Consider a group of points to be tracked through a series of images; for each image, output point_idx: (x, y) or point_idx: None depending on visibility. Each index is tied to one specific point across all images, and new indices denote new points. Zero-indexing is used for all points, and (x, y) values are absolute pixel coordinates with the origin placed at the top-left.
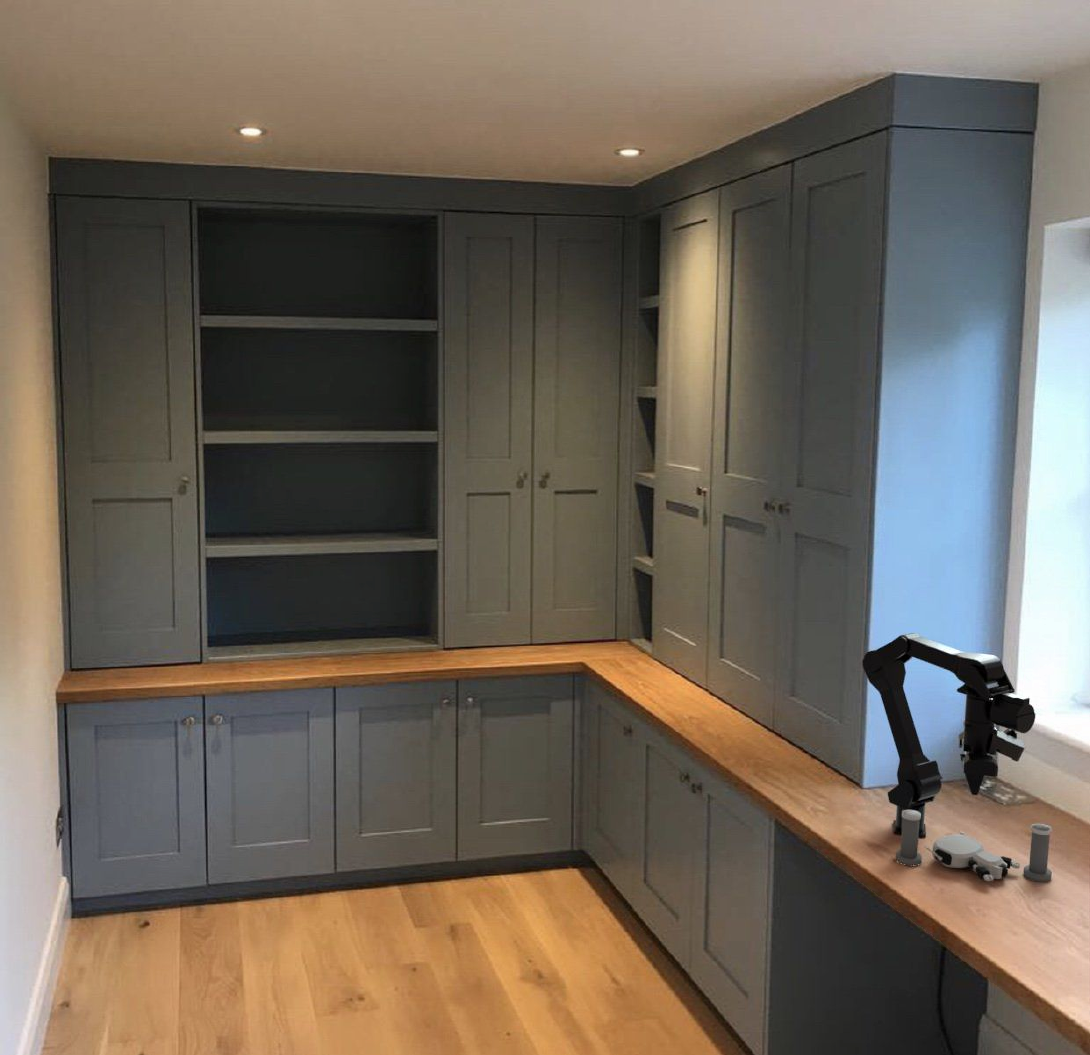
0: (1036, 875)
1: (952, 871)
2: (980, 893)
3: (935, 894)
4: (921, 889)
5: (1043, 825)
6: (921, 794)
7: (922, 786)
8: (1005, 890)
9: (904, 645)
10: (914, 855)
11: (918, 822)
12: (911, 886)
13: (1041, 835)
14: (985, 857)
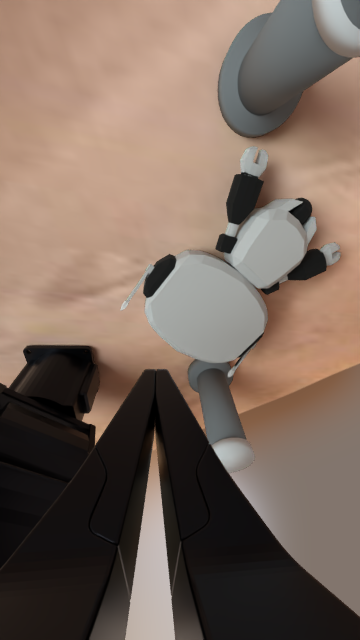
0: (300, 95)
1: None
2: (342, 267)
3: (335, 339)
4: (315, 356)
5: None
6: (87, 451)
7: (73, 476)
8: (335, 209)
9: None
10: (224, 376)
11: (238, 432)
12: (304, 368)
13: None
14: (281, 262)
